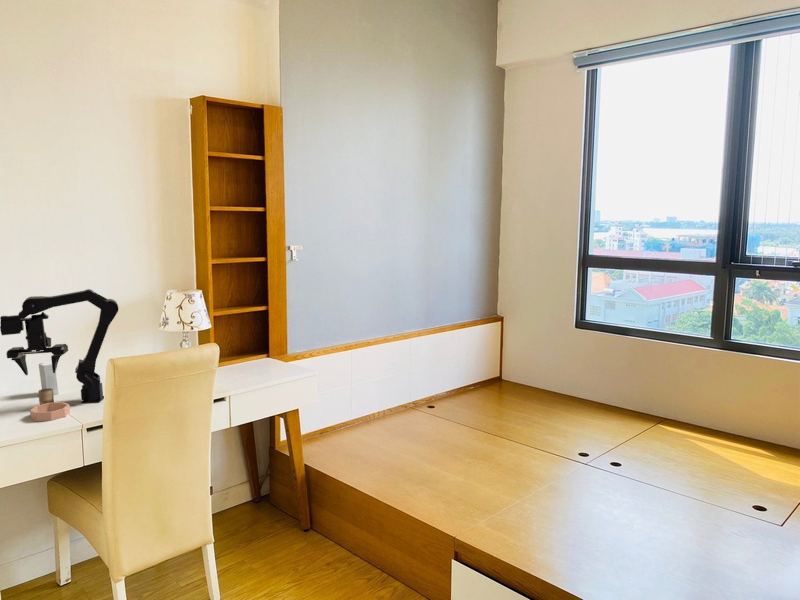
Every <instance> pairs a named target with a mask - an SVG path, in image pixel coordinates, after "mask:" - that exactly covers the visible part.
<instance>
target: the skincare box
mask: <svg viewBox="0 0 800 600" xmlns="http://www.w3.org/2000/svg"><path fill="white" fill-rule="evenodd" d="M38 369H39V377H40V383H41V389H47V388H51V389H53V396H54V395H55V396H56V395H58V394H59V387H58V379H57V371H56V372H55V373H53V369H52V361H51V362H50V361H46V362H45V361H44V362H41V363H39V364H38Z"/></svg>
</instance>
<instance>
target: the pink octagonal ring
mask: <svg viewBox="0 0 800 600" xmlns="http://www.w3.org/2000/svg"><path fill="white" fill-rule="evenodd" d="M29 413H30V419H31V421H32V420H33V421H35V422H48V421H49V422H50V421H55V420H59V419H63V418H65V417H67V416H68V415H69V414H71V409H70V404H69V403H67V402H63V401H58V402H54V403H46V404H42V405H40V404H38V405H35V406H34V407H32V408H31V409H29Z"/></svg>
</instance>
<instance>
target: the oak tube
mask: <svg viewBox="0 0 800 600" xmlns="http://www.w3.org/2000/svg"><path fill="white" fill-rule="evenodd" d="M37 391H38V392H37V393H38V401H39V403H38V404H39V405H42V404H46V403H55V399H54V395H53V389H51V388H47V389H42V388H41V389H39V390H37Z"/></svg>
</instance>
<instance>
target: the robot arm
mask: <svg viewBox="0 0 800 600" xmlns="http://www.w3.org/2000/svg"><path fill="white" fill-rule="evenodd" d="M82 302H83V303H84V302H89V303H90V304H92V305H93V306H95V307H96V308H97V309H99V310H100V311H99V317H98V322H97V324H96V325H97V326H96V328H95V331H94V334H93V336H92V339H91V341H90V345H89V346H88V349H87V353H86V355H85V356H84V358H83V359H81V358H79V359H78V364H77V366H76V367H75V369H74V373H75V374H76V376H75V377H76V380H77V382H79V383H81V384H82V385H81V389H80V397H81V402H80V403H82V404H89V403H90V404H91V403H100V402H101V401H103V399H105V398H104V396H105V395H104V391H103V383H102V382H101V376H100V374H98V373H97V372H95V369H96V362H97V359H98V357H99V354H100V350H101V349H102V345H103V342H104V340H105V338H106V335H107V332H108V329H109V326H110V325H111V323H112V322H113V320H114V319H115V317H116V315H117V314H118V312H119V304H118V302H117V301H116V300H115V299H113V298H106V297H104V296H102V295H101V294H99V293H98V292H95V291H94V290H93V289H89V288H87V289H84V290H80V291H79V290H78V291H75V292H68V293H63V294H59V295H58V294H57V295H52V296H42V295H41V296H39V295H38V296H29V297H26V298H25V300H24V301H23V302H22V303H21V304H22V306H21V308H22V309H21V311H19V312H18V314H16V315H14V314H13V315H1V316H0V334H1V336H10V335H18V334H21V333H22V331H24V329H25V333H26V336H25V340H26V341H27V342H26V343H27V347H26V348H24V346H17V347H16V346H14V347H11V348H9V349H8V350H7V351H6V354H5V355H6V358H7V359H11V360H10V361H14V362H15V363H16V364H17V365H18V367H19V368H20V369H21V370H22V373H24V376H28V375H29V371H28V366H27V360H26V359H27V358H26V357H27V355H34V354H37V355H38V354H47V353H49V354H50V353H51V354H52V355H50V361H51V363H52V369H53V373H55V372H56V373H57V367H58V364H59V361H60V358H61V357H62V356H63V355H64V354H66V353H68V351H69V346H68V344H66V343H60V344H59V343H57V344H56V343H55V344H53V346H52V338H51V337H49V336H48V335H47V332H45V325H44V320H48V319H49V317H50V316H49V315H48V314H46V313H45V311H47V310H49V309H52V308H56V307H61V306H67V305H72V304H78V303H82ZM39 313H40V314H39ZM29 316H31V317H29ZM24 325H25V326H24Z"/></svg>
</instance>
